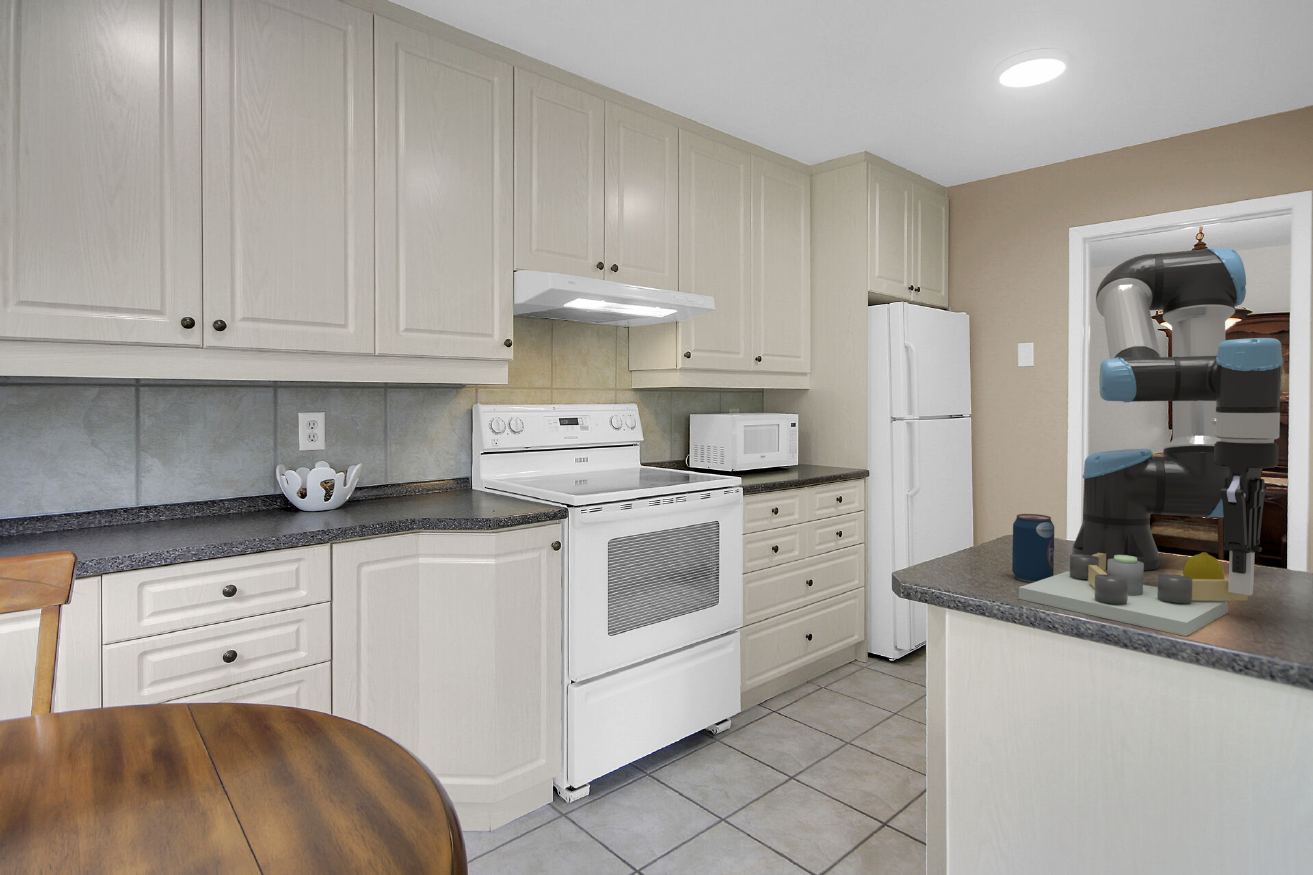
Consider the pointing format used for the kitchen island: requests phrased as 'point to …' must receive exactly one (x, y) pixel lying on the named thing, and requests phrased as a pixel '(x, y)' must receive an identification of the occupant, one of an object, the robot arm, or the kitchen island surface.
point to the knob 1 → (1085, 564)
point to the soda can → (1033, 547)
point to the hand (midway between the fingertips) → (1240, 592)
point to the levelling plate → (1140, 601)
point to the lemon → (1203, 567)
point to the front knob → (1108, 586)
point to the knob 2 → (1194, 589)
